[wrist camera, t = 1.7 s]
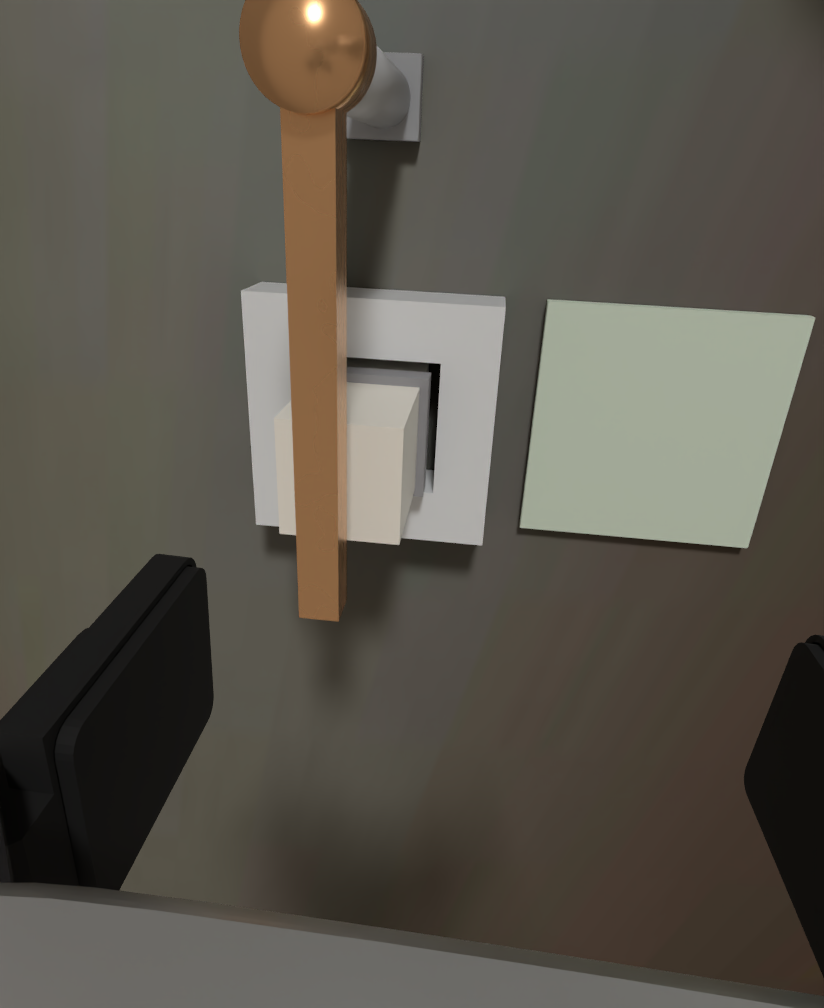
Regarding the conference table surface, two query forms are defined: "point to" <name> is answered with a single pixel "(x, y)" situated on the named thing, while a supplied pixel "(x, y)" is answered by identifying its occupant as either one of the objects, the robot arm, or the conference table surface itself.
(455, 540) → the socket block
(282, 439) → the plug
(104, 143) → the conference table surface
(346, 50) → the wooden bar
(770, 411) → the mat
